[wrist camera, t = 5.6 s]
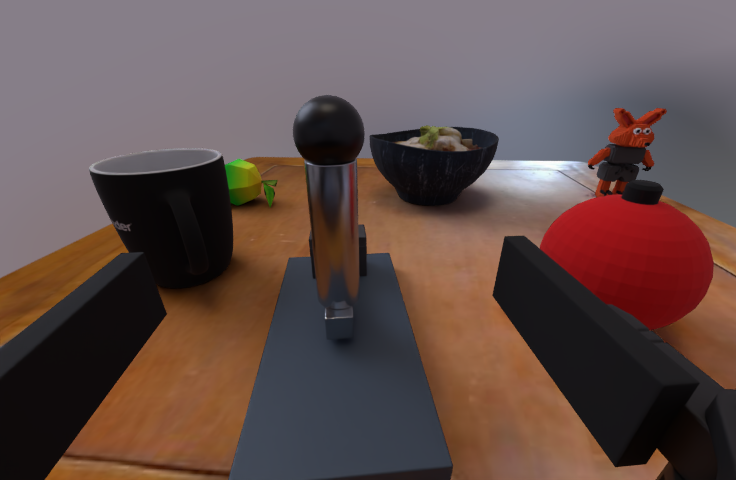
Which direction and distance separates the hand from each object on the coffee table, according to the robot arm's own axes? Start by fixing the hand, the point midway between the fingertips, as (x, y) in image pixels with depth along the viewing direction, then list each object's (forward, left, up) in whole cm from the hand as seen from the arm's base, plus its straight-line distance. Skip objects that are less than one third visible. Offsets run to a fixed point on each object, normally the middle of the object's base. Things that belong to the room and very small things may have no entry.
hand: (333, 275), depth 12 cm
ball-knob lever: (-9, +2, -7) cm, 11 cm away
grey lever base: (-6, +1, -9) cm, 11 cm away
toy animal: (-19, +45, -9) cm, 50 cm away
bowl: (-30, +21, -9) cm, 38 cm away
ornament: (-2, +19, -9) cm, 22 cm away
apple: (-37, -4, -9) cm, 38 cm away
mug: (-18, -9, -9) cm, 22 cm away
